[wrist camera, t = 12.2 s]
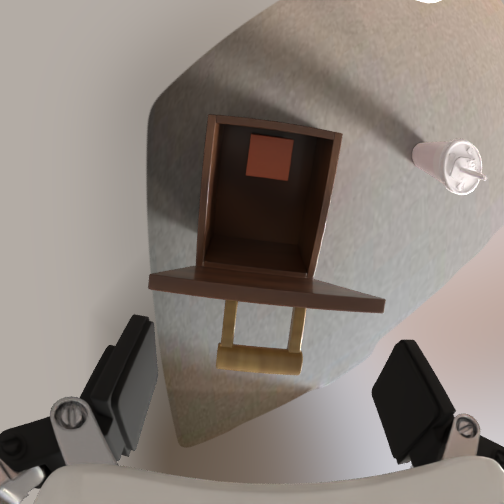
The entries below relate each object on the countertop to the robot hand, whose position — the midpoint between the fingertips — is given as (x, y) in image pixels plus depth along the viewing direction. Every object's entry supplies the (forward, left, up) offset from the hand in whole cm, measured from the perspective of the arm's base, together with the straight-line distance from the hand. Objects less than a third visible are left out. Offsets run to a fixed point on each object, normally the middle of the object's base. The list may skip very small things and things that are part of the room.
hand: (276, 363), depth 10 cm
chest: (-1, 0, -29) cm, 29 cm away
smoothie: (-9, +21, -29) cm, 37 cm away
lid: (+3, 0, -12) cm, 13 cm away
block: (-5, 0, -28) cm, 28 cm away
